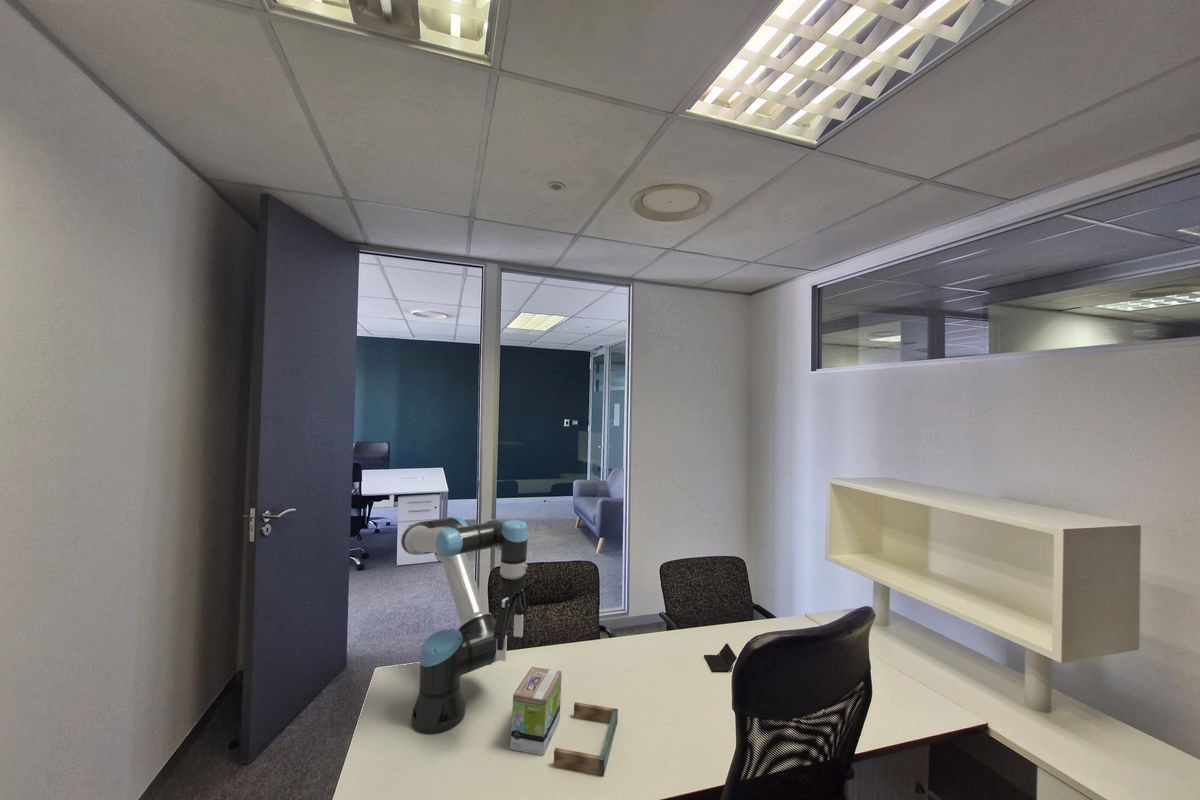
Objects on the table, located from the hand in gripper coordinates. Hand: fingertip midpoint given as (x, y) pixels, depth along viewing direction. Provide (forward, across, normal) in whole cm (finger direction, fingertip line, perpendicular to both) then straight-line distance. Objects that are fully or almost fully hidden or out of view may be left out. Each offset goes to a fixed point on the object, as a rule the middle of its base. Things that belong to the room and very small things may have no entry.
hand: (509, 647), depth 130 cm
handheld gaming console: (+22, +47, -65) cm, 84 cm away
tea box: (+23, -2, -10) cm, 25 cm away
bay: (+22, -2, -24) cm, 33 cm away
